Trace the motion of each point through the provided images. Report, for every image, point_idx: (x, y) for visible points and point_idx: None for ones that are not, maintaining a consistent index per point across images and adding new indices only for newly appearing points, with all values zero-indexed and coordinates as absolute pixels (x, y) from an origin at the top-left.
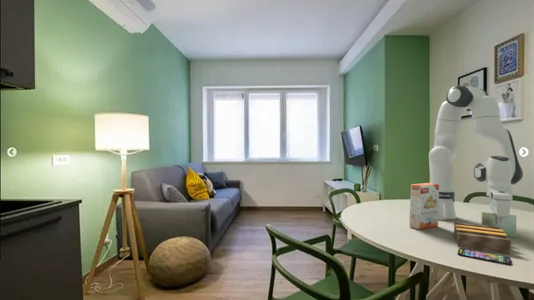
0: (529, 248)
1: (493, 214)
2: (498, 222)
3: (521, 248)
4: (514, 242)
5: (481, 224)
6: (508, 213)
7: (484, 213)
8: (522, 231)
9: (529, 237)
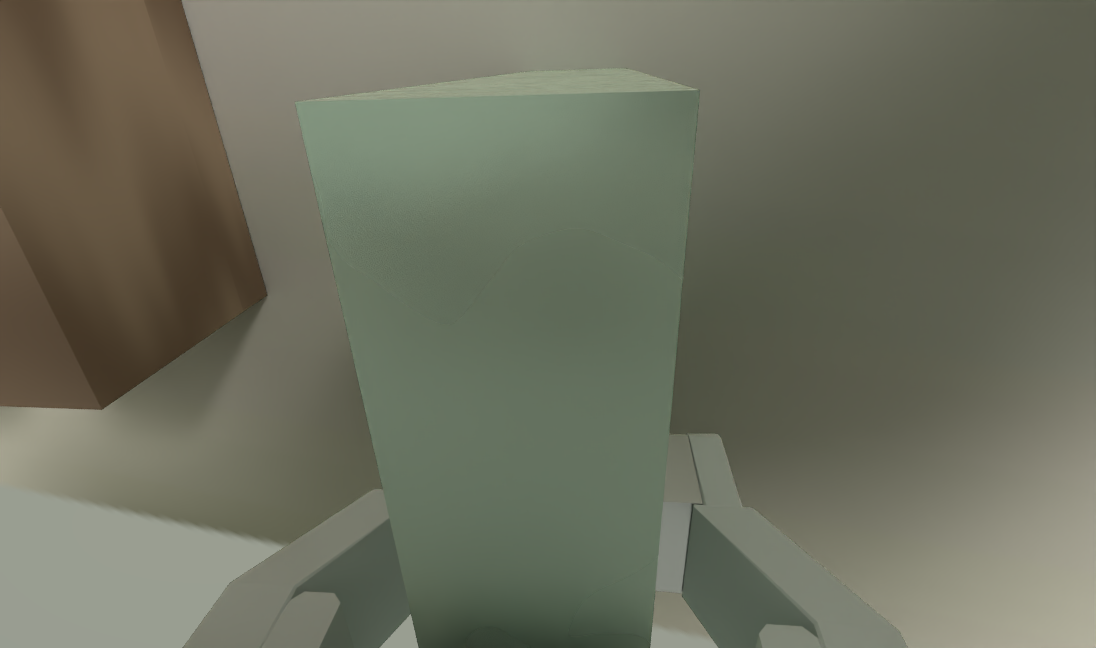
0: (90, 503)
1: (423, 593)
2: None
3: (12, 439)
4: (221, 432)
5: (599, 71)
6: None
7: (350, 248)
8: (898, 630)
9: None
